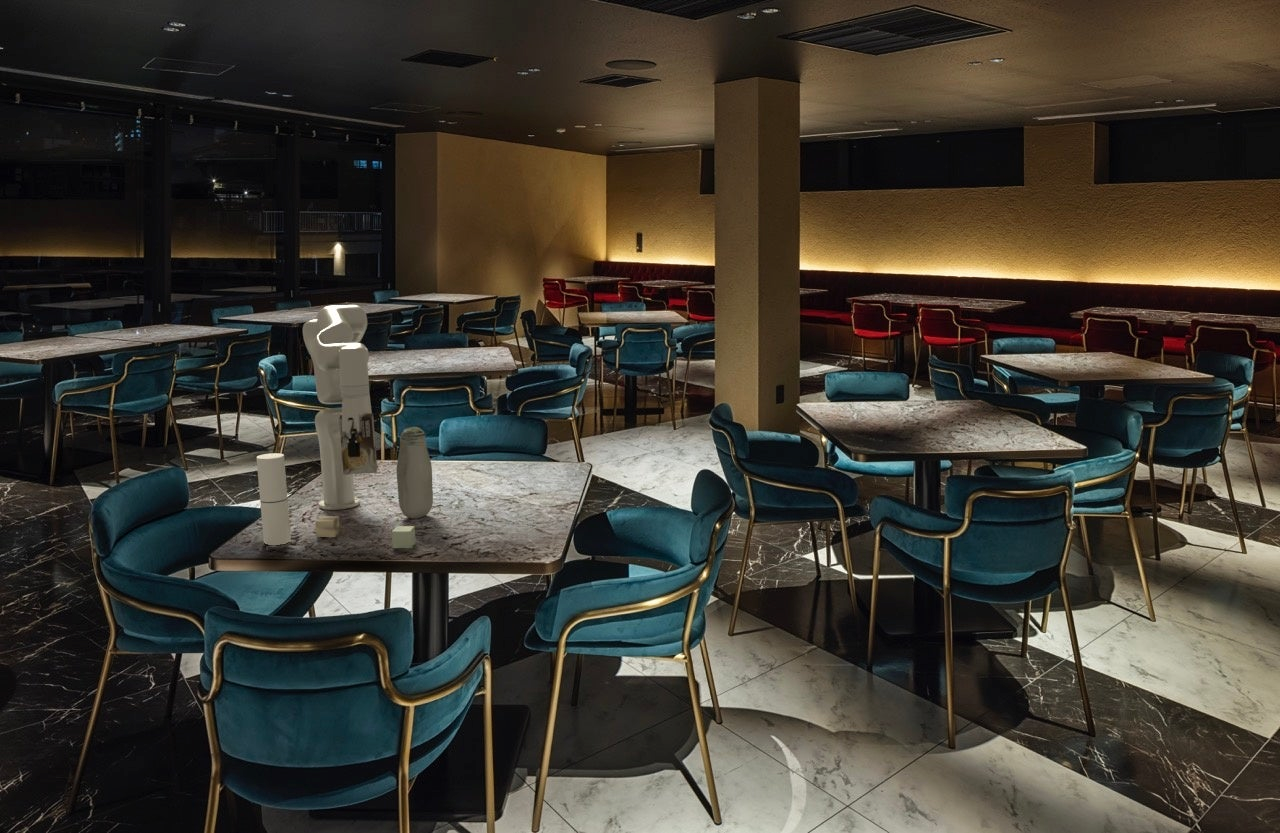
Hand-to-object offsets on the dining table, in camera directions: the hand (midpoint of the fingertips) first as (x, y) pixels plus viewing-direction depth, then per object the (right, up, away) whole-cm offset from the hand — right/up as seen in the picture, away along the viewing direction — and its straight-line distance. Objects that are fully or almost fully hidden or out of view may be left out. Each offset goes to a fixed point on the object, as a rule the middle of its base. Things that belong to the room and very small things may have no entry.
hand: (359, 453), depth 263 cm
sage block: (+13, -26, -2) cm, 29 cm away
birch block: (-12, -24, +9) cm, 28 cm away
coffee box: (0, -5, +1) cm, 6 cm away
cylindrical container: (-24, -26, +2) cm, 35 cm away
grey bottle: (+10, -21, +26) cm, 35 cm away
